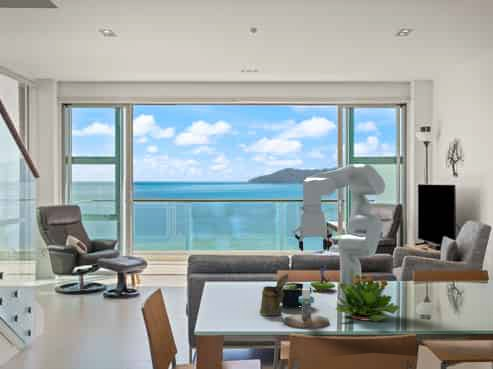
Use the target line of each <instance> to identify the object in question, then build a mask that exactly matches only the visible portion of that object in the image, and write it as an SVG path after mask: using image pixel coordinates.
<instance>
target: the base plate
mask: <svg viewBox="0 0 493 369" xmlns="http://www.w3.org/2000/svg"><path fill="white" fill-rule="evenodd" d="M284 323H285V324H287V325H289V326H288V327H290V326H292V327H291V328H295V327H296V328H297V329H306V328H311V329H320V328H319V327H322V328H325V327H327V326H326V325H328V324H329V325H330V320H329V318H328V317H325V316H322V315H318V314H317V315H315V314H312V303H310V304H304V303H302V307H301V311H300V314H292V315H288V316H285V317H284V318H283V324H284ZM285 324H284V325H285ZM287 325H286V326H287ZM329 325H328V326H329ZM324 326H325V327H324Z"/></svg>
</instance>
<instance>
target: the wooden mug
mask: <svg viewBox="0 0 493 369" xmlns="http://www.w3.org/2000/svg"><path fill="white" fill-rule="evenodd" d="M288 280H289V274H288V273H285V274H284V275H283V276H280V278H279V279H278V281H277V283H276V285H275V286H276V287H275V286H269V285H268V286H267V285H266V286H264V287H262V288H263V289H262V291H261V294H262V295H261V296H262V297H261V303H260V309H259V313H261V314H265V315H277V314H280V315H281V314H282V309H281V304H282V303H281V301H282V299H283V295H284V293H283V289H282V286H283V285H284V284H287V283H288V282H287V281H288ZM279 294H280V297H279V296H278V295H279ZM277 316H278V315H277Z"/></svg>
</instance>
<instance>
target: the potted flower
mask: <svg viewBox="0 0 493 369" xmlns="http://www.w3.org/2000/svg"><path fill="white" fill-rule="evenodd" d="M358 277H359V278H358ZM360 278H361V280H360ZM353 283H354V284H356V285H355V286H357V287H356V288H355V286H354V285H352V287H351V285H346V284H345V283H344V284H343V283H341V284H340V283H339V289H340V288H342V289H343V292H344V293H345V297H346V302H345V301H344V300H342V299H341V298H340V296H336V298H337V300H339V301H340V302H341V303H342V304H343V305H344V306H341V305H340V306H336V308H335V310H336V311H339V312H341V313H345V314H349V315H350V317H351V318H352V319H353V318H355V319H354V320H356V319H371V320H370V321H372V320H374V321H373V322H379V321H381V320H383V319H387V318H388V317H389V316H388V314H387V313H389V314H392V315H395V313H396V311H397V310H399V309H400V306H399V305H394V304H395V303H394V302H391V299H392V298H393V297H392V296H391V295H386V294H383V292H384V290H386V289H385V288H386V286H388V285H389V283H388V280H387V279H380V281H379V280H375V281H374V280H373V277H369V276H368V277H367V276H366V274H365V273H363V274H362V273H361V277H360V275H355V280H353ZM360 283H361V284H360ZM340 286H341V287H340ZM390 302H391V303H390Z"/></svg>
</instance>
